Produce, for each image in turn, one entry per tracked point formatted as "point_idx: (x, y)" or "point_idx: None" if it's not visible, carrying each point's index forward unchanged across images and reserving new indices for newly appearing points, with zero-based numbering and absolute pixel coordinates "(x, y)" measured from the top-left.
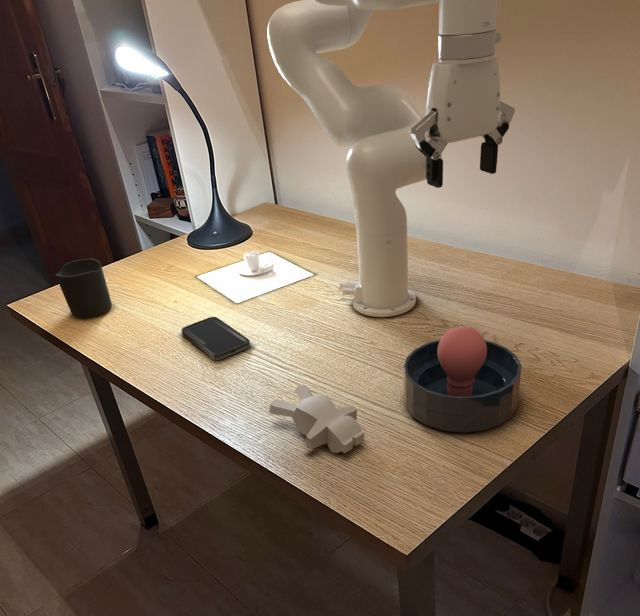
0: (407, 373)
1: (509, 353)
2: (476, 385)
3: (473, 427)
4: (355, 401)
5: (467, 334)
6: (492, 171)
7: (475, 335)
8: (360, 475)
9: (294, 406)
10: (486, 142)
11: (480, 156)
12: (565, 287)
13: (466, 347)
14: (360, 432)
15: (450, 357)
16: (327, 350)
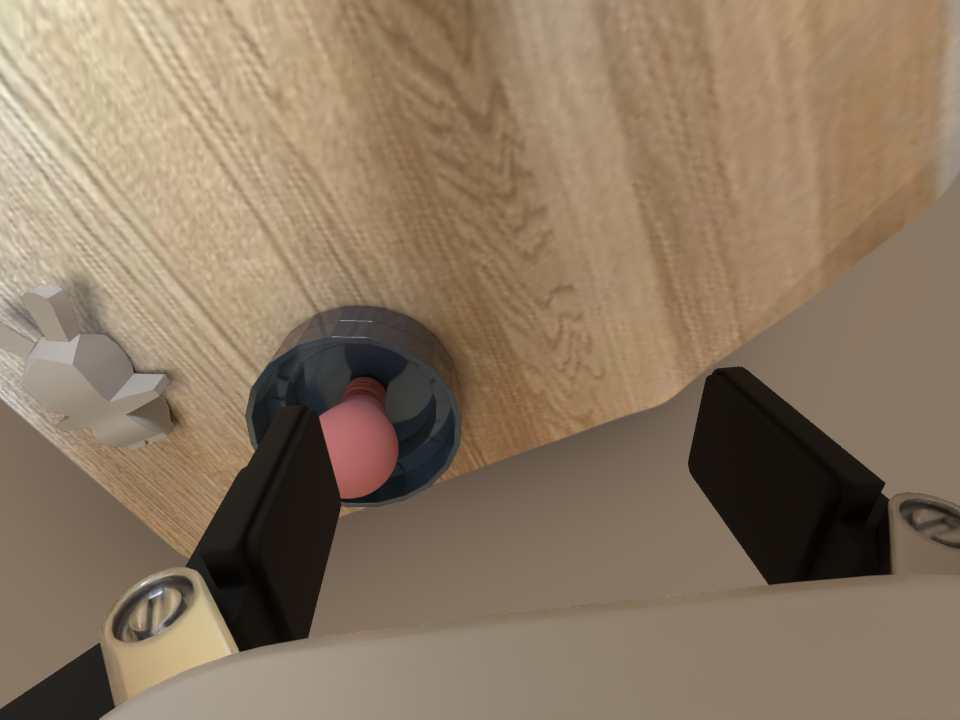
0: (250, 412)
1: (454, 433)
2: (410, 373)
3: None
4: (186, 310)
5: (345, 494)
6: (696, 476)
7: (362, 492)
8: (163, 466)
9: (26, 344)
10: (840, 550)
11: (762, 420)
12: (852, 112)
13: None
14: (161, 435)
15: None
16: (146, 63)
